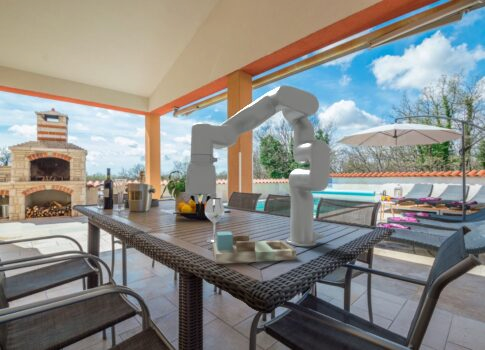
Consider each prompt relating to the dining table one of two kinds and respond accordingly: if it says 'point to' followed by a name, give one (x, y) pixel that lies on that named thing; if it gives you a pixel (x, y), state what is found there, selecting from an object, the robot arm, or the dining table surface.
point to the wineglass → (214, 213)
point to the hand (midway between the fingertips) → (199, 215)
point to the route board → (253, 251)
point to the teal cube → (224, 240)
